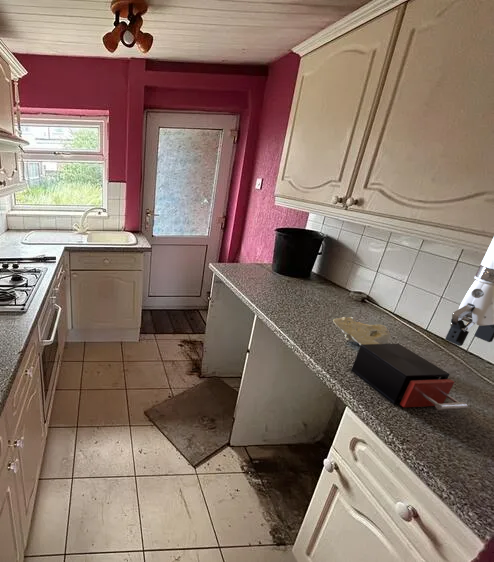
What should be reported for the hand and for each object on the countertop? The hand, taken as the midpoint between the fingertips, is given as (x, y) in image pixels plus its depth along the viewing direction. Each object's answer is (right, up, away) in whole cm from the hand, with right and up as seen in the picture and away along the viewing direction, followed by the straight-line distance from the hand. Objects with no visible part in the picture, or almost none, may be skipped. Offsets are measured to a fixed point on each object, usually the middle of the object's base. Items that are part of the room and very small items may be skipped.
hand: (468, 340), depth 77 cm
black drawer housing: (-7, -16, +14) cm, 22 cm away
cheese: (-2, -8, +34) cm, 35 cm away
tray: (-6, -17, +9) cm, 20 cm away
